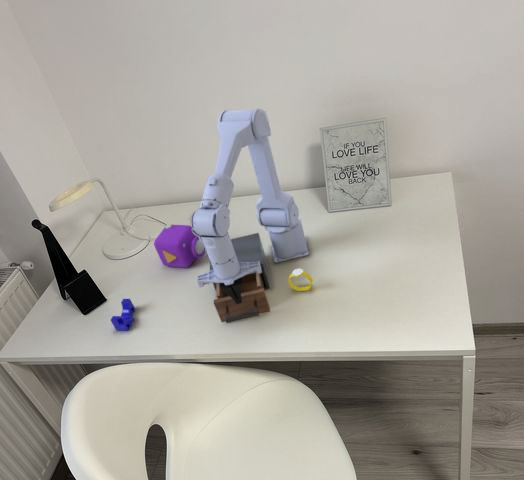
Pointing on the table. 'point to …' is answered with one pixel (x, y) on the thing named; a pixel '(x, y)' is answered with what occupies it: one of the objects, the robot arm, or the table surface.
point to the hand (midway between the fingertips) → (238, 300)
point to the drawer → (243, 300)
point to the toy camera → (178, 246)
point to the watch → (299, 273)
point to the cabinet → (250, 254)
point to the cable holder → (124, 316)
